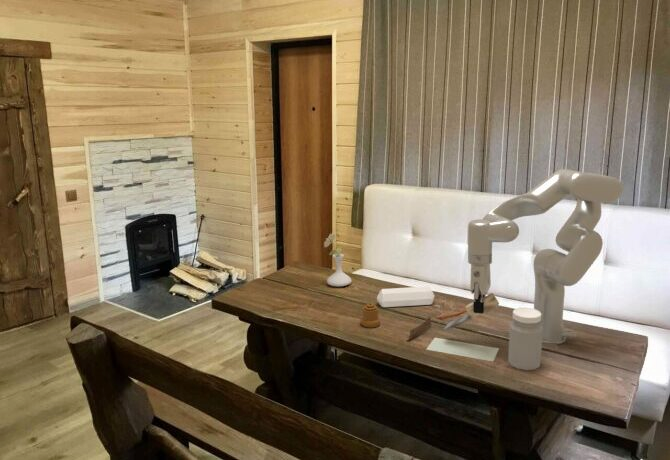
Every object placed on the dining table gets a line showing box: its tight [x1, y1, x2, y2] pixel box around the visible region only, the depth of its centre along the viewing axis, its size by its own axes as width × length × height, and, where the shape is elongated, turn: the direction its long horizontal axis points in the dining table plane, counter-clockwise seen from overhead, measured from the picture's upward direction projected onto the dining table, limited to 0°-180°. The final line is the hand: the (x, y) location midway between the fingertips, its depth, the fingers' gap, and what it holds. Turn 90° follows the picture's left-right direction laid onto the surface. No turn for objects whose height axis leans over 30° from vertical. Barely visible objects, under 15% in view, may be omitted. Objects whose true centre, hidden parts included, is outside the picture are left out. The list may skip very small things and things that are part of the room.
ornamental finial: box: [360, 303, 381, 329], centre depth 209 cm, size 8×8×8 cm
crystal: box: [376, 285, 435, 308], centre depth 229 cm, size 7×7×24 cm
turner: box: [444, 292, 500, 332], centre depth 187 cm, size 20×5×4 cm
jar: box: [507, 306, 543, 371], centre depth 174 cm, size 10×10×18 cm
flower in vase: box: [323, 231, 352, 287], centre depth 251 cm, size 13×11×25 cm
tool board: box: [425, 337, 500, 362], centre depth 186 cm, size 22×10×1 cm, turn 63°
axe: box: [437, 308, 491, 321], centre depth 216 cm, size 22×6×2 cm, turn 122°
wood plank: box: [407, 316, 433, 341], centre depth 198 cm, size 15×2×5 cm, turn 141°
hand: (479, 310), depth 185 cm, fingers closed on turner, 2 cm apart
